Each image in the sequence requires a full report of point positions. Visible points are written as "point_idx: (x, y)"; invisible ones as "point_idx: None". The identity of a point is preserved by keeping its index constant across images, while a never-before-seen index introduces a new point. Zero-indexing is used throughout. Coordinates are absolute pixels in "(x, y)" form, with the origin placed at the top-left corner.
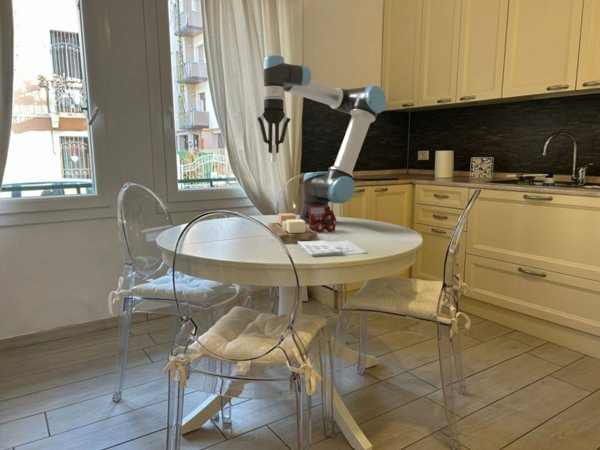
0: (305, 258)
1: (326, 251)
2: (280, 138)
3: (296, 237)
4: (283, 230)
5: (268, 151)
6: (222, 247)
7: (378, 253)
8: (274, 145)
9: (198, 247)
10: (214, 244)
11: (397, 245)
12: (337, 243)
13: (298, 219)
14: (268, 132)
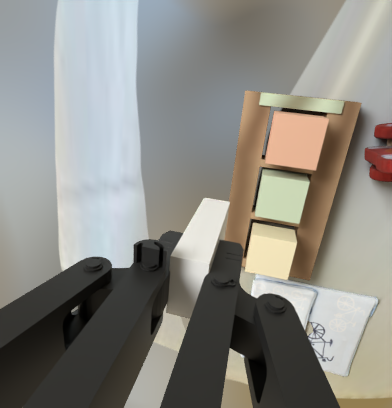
0: None
1: None
2: (264, 343)
3: None
4: (247, 218)
5: (162, 237)
6: (113, 246)
7: (366, 382)
8: (189, 311)
9: (75, 232)
10: (100, 219)
11: None
12: (333, 310)
13: (286, 243)
14: (67, 367)
